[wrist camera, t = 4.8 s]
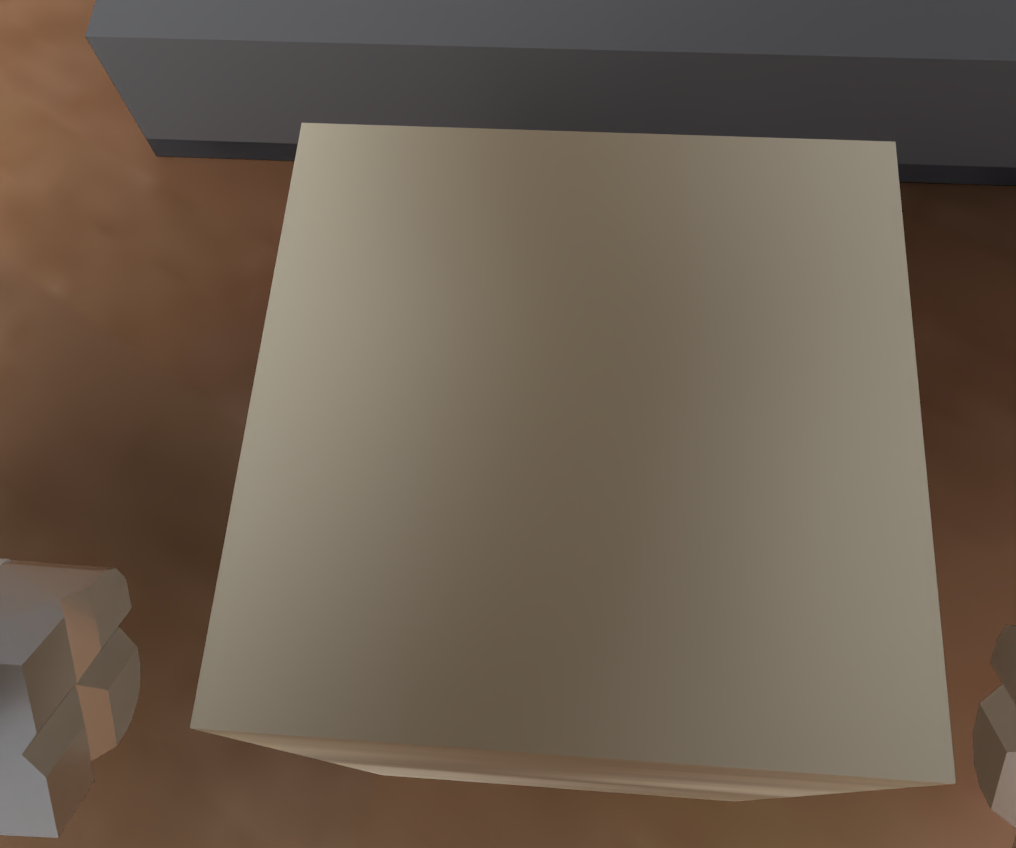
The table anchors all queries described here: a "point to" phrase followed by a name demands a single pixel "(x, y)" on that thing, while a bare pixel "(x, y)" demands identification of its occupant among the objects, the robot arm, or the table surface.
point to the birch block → (586, 470)
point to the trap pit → (574, 72)
